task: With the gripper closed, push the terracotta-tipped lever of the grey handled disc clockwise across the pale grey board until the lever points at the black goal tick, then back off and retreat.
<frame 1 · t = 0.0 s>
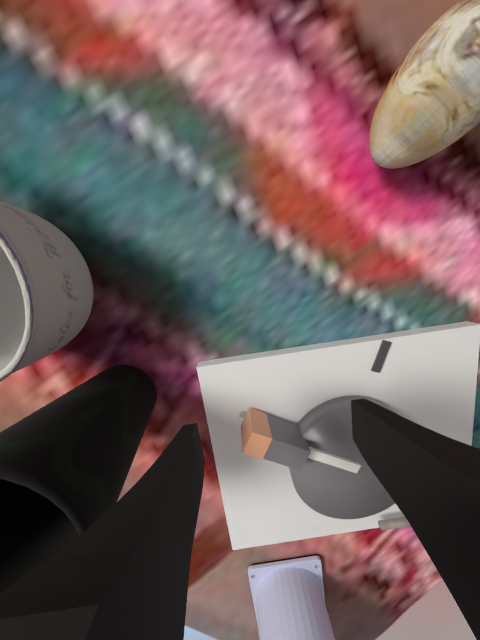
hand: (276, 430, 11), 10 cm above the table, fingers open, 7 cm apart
cup: (126, 392, 21), on the table
board: (339, 438, 23), on the table
screwdriver: (418, 505, 23), point 1 cm above the table, touching board
grey handled disc: (332, 456, 20), point 3 cm above the table, hinge at 60.0°
teacup: (39, 264, 19), on the table
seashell: (398, 126, 18), on the table
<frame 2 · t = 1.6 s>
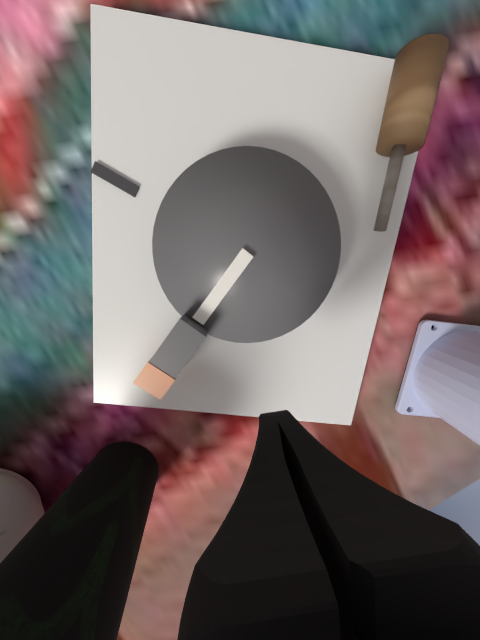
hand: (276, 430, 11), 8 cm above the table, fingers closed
cup: (127, 467, 20), on the table
board: (244, 256, 17), on the table
screwdriver: (385, 156, 15), point 1 cm above the table, touching board
grey handled disc: (225, 283, 14), point 3 cm above the table, hinge at 60.0°
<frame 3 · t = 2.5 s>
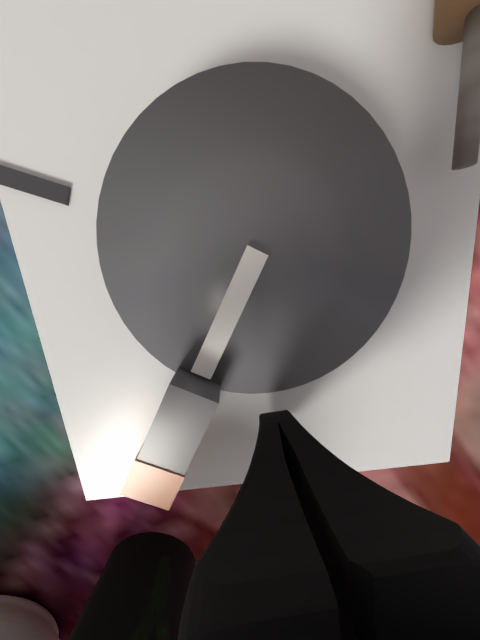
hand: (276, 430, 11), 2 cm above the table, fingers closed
cup: (153, 561, 16), on the table
board: (249, 256, 11), on the table
screwdriver: (446, 45, 9), point 1 cm above the table, touching board
grey handled disc: (230, 307, 9), point 3 cm above the table, hinge at 60.0°
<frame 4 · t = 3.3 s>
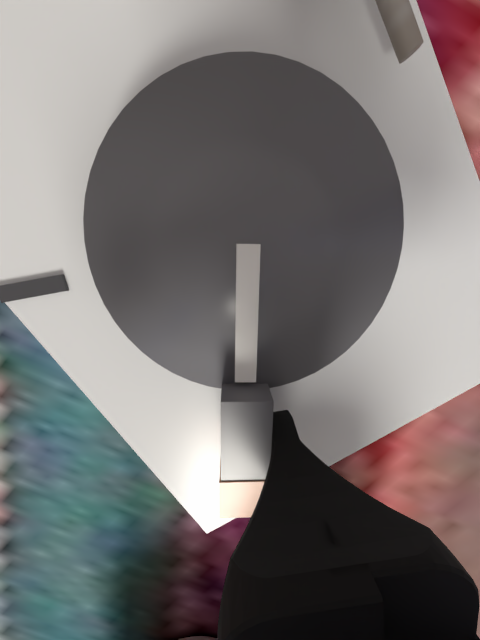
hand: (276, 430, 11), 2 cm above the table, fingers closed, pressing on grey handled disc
board: (242, 252, 11), on the table
grey handled disc: (246, 308, 9), point 3 cm above the table, hinge at 56.8°, touching gripper
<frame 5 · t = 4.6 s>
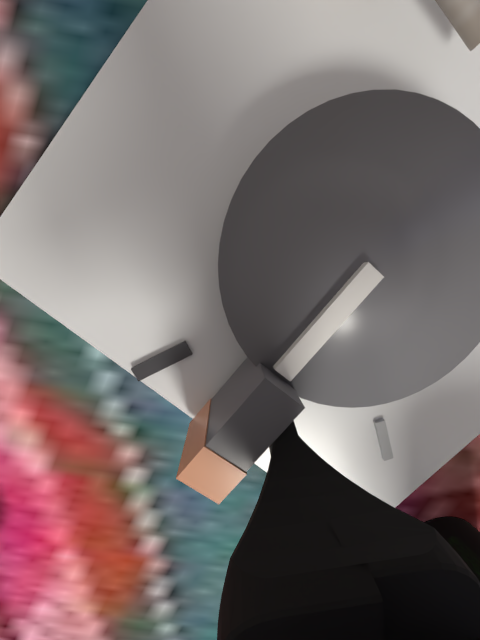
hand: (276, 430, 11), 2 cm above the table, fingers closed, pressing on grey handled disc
cup: (435, 546, 16), on the table
board: (331, 270, 12), on the table
grey handled disc: (326, 316, 9), point 3 cm above the table, hinge at 2.3°, touching gripper
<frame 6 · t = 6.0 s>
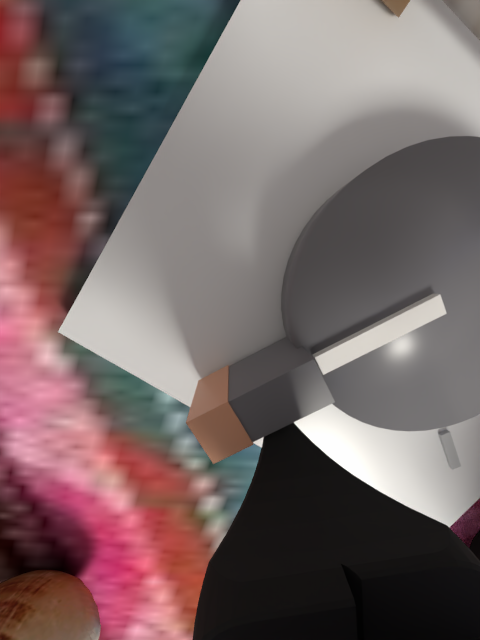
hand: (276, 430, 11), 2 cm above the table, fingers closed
board: (381, 294, 12), on the table
screwdriver: (403, 9, 9), point 1 cm above the table, tilted 10°, touching board
grey handled disc: (377, 329, 9), point 3 cm above the table, hinge at -27.8°, touching gripper
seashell: (51, 572, 15), on the table
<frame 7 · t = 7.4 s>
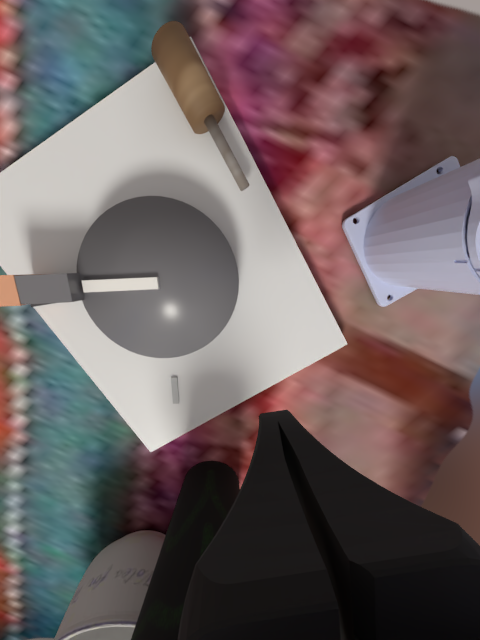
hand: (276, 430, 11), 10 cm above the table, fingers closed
cup: (211, 482, 24), on the table
board: (171, 280, 19), on the table
screwdriver: (206, 132, 16), point 1 cm above the table, tilted 15°, touching board
grey handled disc: (127, 284, 16), point 3 cm above the table, hinge at -28.0°
teacup: (138, 556, 26), on the table
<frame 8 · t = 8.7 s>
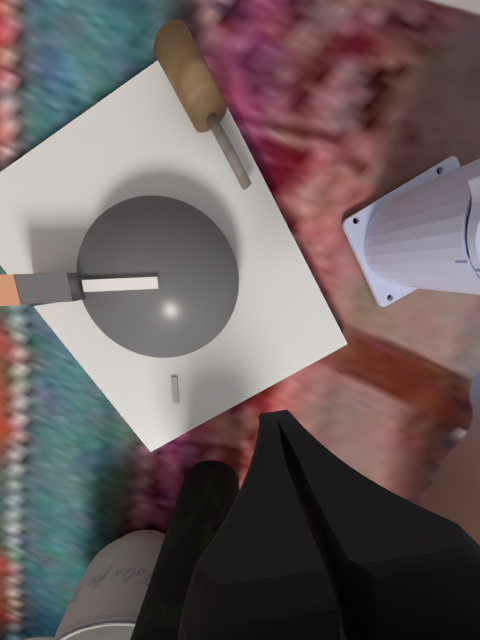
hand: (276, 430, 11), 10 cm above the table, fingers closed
cup: (211, 482, 24), on the table
board: (171, 280, 19), on the table
screwdriver: (206, 131, 16), point 1 cm above the table, tilted 23°, touching board
grey handled disc: (127, 283, 16), point 3 cm above the table, hinge at -28.0°
teacup: (138, 555, 26), on the table
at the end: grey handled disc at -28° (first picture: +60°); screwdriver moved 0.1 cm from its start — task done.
